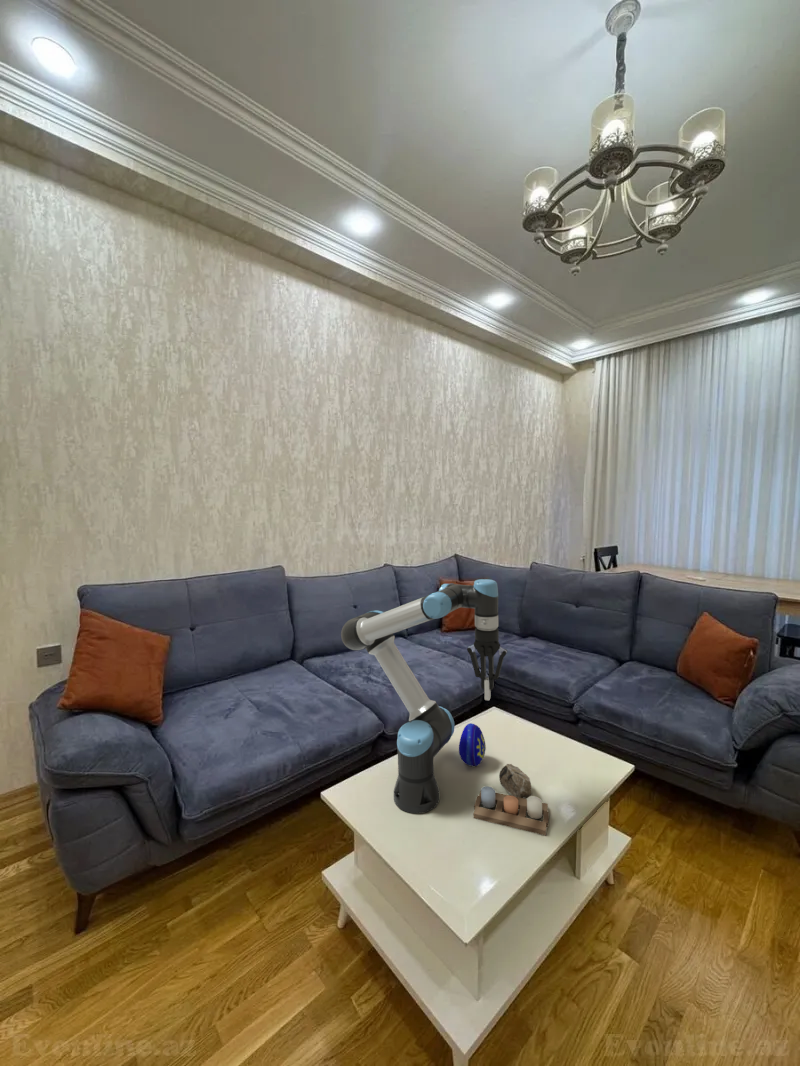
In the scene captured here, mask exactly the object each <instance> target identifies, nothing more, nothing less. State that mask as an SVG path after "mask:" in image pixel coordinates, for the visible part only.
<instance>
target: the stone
mask: <svg viewBox="0 0 800 1066" xmlns="http://www.w3.org/2000/svg"><path fill="white" fill-rule="evenodd" d="M499 783H500V785H501V786H502V788H504V790H505V791H506V792H507V793H508V794H509V795H511V796H515V797H519V798H524V799H527V798H528V797H530V796H532V794H533V792H532V783H531V779H530V777H529V776H528V775H527V774H526V772H523V770H521V769H520V768H519V767H518V766H515V765H513V764H512V763H506V765H504V766H503V767H502V768H501V770H500V772H499Z"/></svg>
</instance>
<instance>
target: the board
mask: <svg viewBox="0 0 800 1066" xmlns="http://www.w3.org/2000/svg"><path fill="white" fill-rule="evenodd" d="M508 795H509V794H505V793H501V792H500V793H499V792H496V791H495V809H492V808H487V807H482V804H481V790H480V791H479V794H478V795H477V796H476V798H475V802H474V805H473V809H474V811H473V819H476V820H480V821H484V822H488V823H492V824H495V825H500V826H504V827H508V828H512V829H517V830H522V831H525V832H529V833H532V834H537V835H541V836H547V828H549V821H550V820H549V819H550V818H549V817H550V811H549V810H548V809H549V805H548V804H549V803H547V802H542V820H538V819H534V818H531V817H529V818H528V817H527V815H528V814H527V798H519V797H516V798H517V799H518V816H517V815H512V814H508V813H504V797H505V796H508ZM514 797H515V796H514Z"/></svg>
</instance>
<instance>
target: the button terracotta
mask: <svg viewBox="0 0 800 1066" xmlns="http://www.w3.org/2000/svg"><path fill="white" fill-rule="evenodd" d="M507 795H508V796H505V797H504V808H503V812H504V813H508V814H512V815H517V816H519V809H518V799H517V798H516V797H514V796H512V794H507Z"/></svg>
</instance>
